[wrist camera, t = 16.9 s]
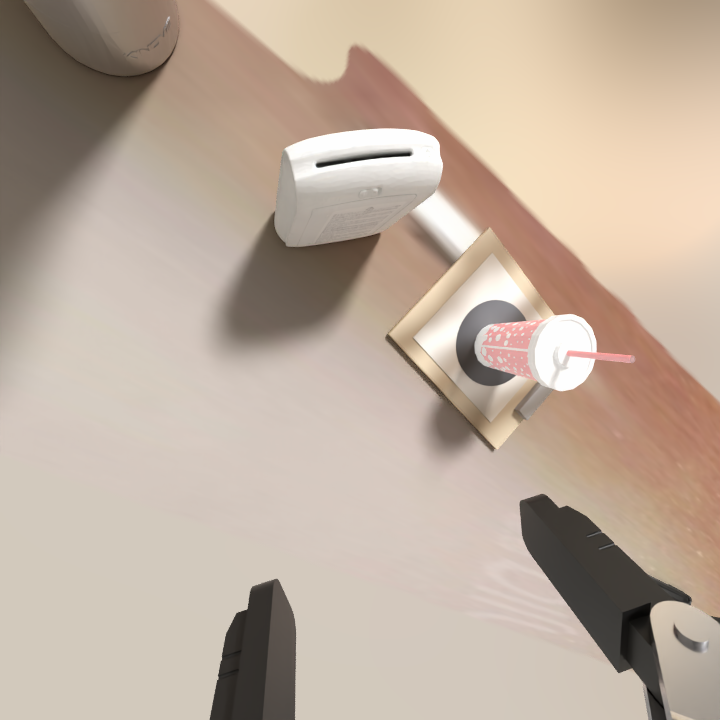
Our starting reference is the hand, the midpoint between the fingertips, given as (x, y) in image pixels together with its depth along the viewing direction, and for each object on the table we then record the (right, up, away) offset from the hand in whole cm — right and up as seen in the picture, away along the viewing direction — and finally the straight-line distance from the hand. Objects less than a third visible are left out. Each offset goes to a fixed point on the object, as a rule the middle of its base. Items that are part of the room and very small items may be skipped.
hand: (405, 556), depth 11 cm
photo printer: (-4, +19, +20) cm, 28 cm away
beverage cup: (+12, +8, +25) cm, 29 cm away
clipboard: (+12, +8, +25) cm, 29 cm away
